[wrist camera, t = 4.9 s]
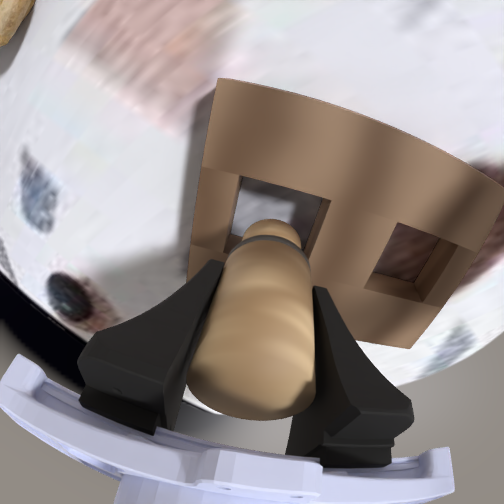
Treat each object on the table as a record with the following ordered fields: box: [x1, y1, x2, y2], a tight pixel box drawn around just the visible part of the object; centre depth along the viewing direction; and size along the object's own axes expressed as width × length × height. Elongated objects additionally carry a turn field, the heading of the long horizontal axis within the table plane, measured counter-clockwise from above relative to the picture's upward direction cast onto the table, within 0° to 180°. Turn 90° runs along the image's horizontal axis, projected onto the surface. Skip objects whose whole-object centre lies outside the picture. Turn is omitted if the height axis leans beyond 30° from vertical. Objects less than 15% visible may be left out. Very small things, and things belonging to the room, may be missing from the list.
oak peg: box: [186, 219, 316, 421], centre depth 12 cm, size 4×4×9 cm
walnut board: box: [186, 78, 504, 349], centre depth 19 cm, size 20×16×2 cm
